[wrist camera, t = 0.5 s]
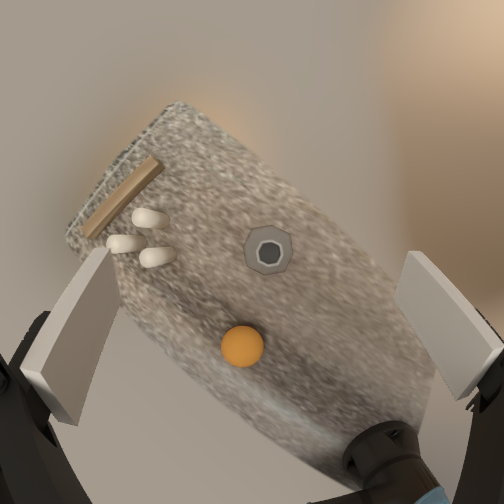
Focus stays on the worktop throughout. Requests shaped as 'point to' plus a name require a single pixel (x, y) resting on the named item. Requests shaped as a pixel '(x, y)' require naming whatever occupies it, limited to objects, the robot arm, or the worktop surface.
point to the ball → (242, 346)
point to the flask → (264, 241)
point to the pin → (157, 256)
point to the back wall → (122, 196)
